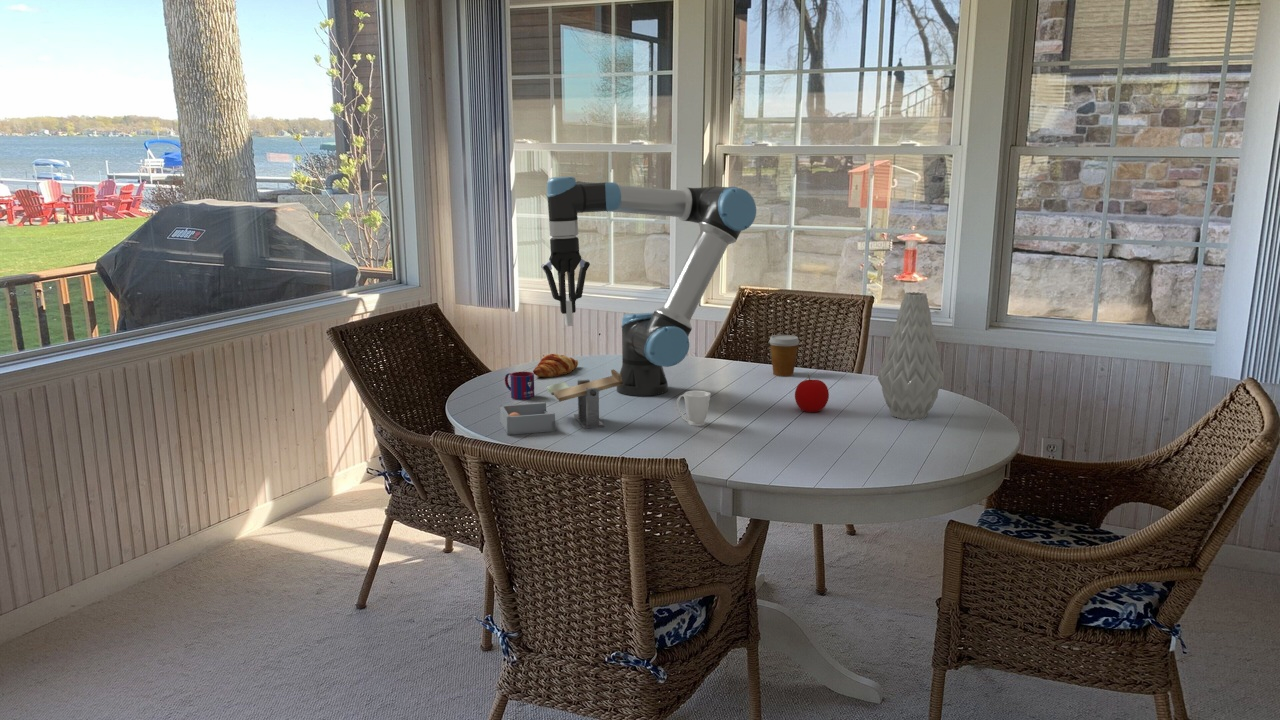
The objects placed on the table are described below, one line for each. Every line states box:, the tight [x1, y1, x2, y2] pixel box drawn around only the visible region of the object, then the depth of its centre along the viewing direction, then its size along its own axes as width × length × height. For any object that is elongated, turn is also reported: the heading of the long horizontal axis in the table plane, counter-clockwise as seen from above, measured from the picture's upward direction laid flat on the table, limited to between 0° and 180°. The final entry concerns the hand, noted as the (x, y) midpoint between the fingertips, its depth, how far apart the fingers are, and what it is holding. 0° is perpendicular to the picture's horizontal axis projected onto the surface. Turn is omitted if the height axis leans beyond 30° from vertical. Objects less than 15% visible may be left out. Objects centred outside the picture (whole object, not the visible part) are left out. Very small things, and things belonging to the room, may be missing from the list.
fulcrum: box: [573, 379, 605, 429], centre depth 248 cm, size 5×12×10 cm, turn 17°
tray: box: [499, 401, 556, 436], centre depth 244 cm, size 12×12×4 cm
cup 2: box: [675, 390, 712, 427], centre depth 247 cm, size 7×10×8 cm
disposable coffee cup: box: [768, 334, 800, 377], centre depth 302 cm, size 10×10×12 cm
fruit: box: [794, 374, 830, 413], centre depth 258 cm, size 9×9×10 cm
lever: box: [545, 368, 623, 402], centre depth 250 cm, size 18×14×3 cm
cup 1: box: [504, 371, 535, 401], centre depth 275 cm, size 7×10×7 cm
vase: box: [877, 291, 945, 420], centre depth 250 cm, size 17×17×33 cm
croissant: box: [532, 353, 579, 378], centre depth 306 cm, size 21×10×8 cm, turn 146°
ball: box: [509, 412, 520, 416], centre depth 243 cm, size 4×4×4 cm
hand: (568, 325), depth 256 cm, fingers closed
